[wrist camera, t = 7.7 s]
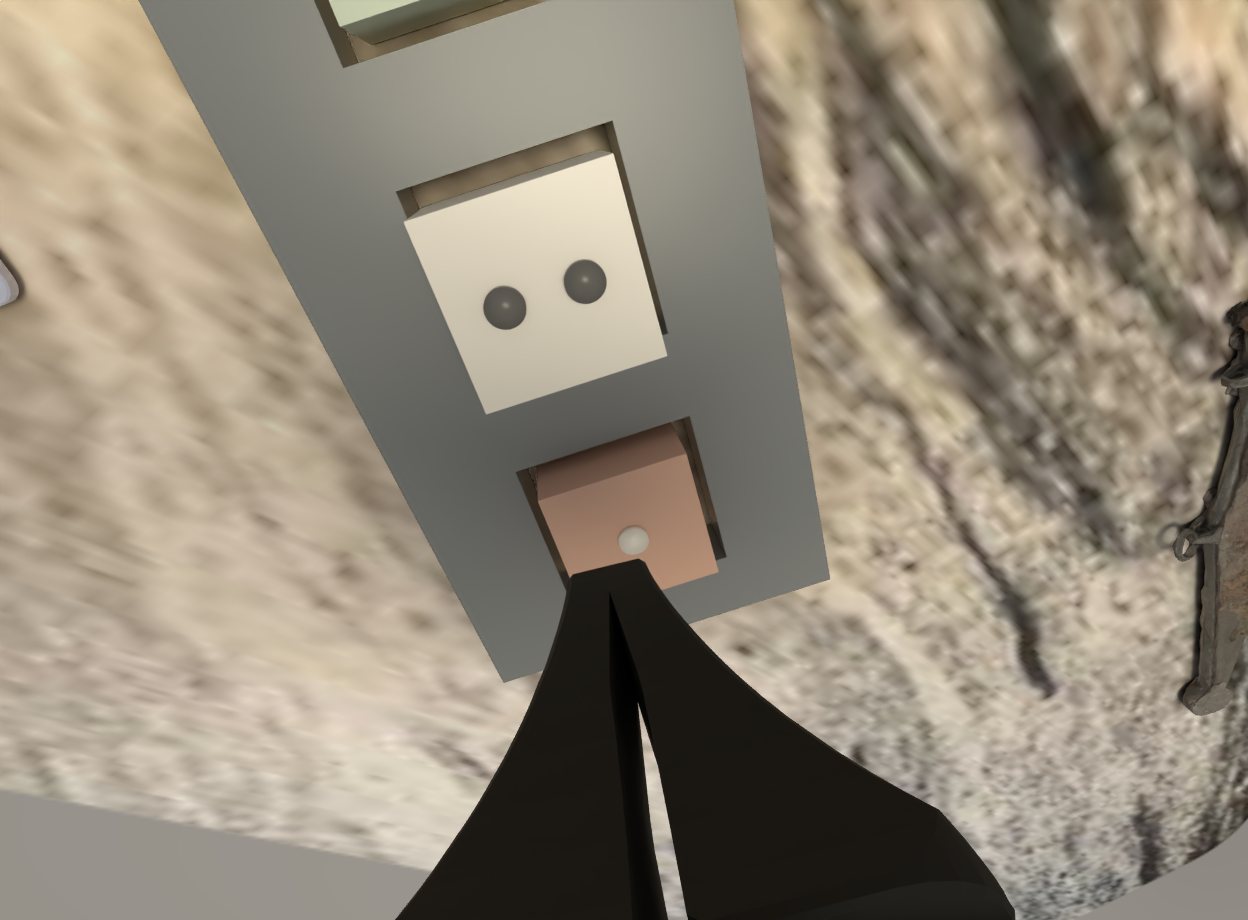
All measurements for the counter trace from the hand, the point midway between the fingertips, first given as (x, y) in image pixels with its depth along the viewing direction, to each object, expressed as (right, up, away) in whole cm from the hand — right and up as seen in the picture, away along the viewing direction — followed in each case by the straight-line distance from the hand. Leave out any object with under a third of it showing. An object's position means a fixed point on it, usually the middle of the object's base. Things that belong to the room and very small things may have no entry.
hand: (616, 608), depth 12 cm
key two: (-2, +8, +5) cm, 9 cm away
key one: (0, +2, +10) cm, 10 cm away
